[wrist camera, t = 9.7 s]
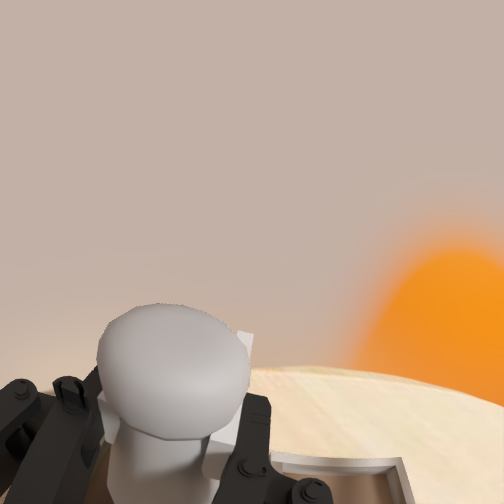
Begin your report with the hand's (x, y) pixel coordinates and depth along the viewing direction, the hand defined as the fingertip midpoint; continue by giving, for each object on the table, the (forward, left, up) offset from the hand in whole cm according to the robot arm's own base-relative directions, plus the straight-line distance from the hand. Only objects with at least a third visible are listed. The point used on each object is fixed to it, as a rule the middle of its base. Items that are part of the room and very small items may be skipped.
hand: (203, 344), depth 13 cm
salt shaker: (0, +5, -9) cm, 11 cm away
